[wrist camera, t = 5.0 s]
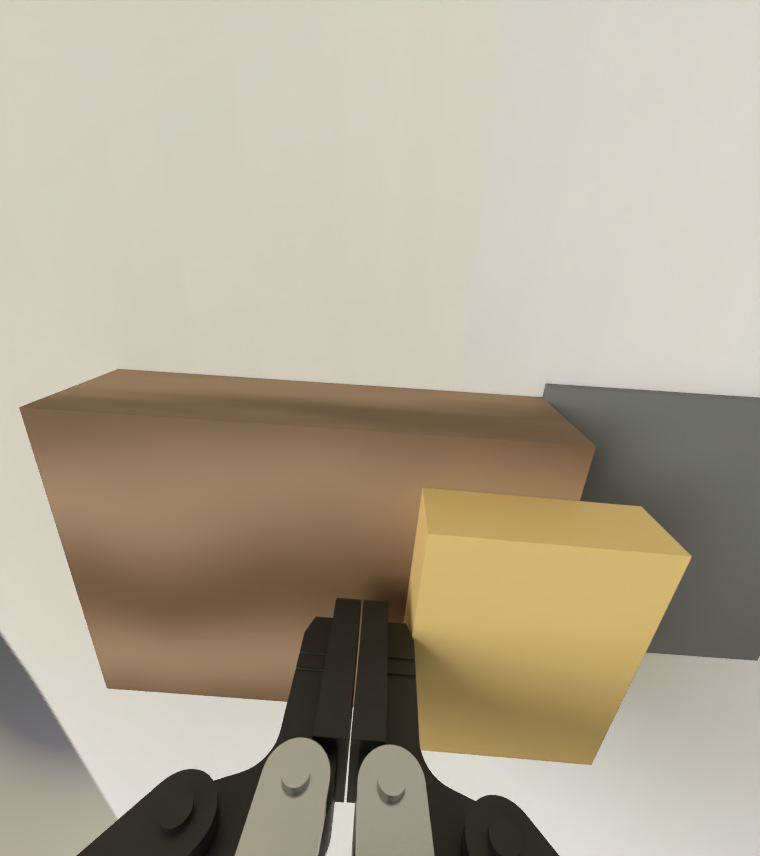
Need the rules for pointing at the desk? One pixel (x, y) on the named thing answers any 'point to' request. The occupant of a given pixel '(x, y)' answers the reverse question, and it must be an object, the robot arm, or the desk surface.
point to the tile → (531, 619)
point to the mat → (684, 500)
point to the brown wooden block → (263, 508)
